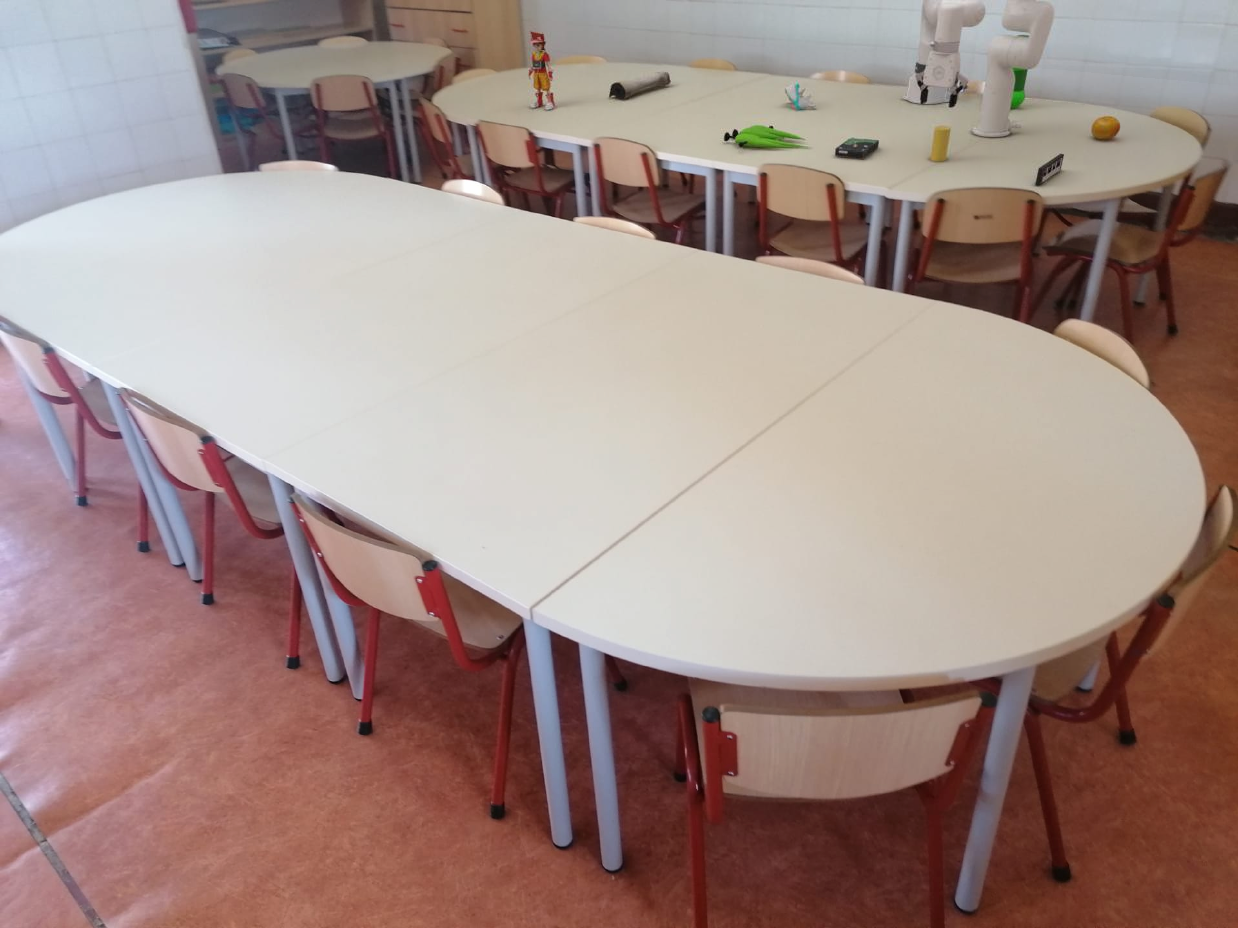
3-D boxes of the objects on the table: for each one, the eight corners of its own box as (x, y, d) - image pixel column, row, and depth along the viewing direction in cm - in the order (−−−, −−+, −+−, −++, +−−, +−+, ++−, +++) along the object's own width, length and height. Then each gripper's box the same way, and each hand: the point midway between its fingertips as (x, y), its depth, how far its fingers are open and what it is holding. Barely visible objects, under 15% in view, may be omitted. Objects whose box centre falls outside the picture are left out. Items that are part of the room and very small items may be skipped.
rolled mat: (651, 76, 408) (662, 61, 399) (662, 93, 408) (674, 79, 400) (605, 92, 391) (616, 77, 383) (617, 110, 391) (628, 95, 383)
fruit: (1087, 130, 301) (1105, 108, 298) (1084, 133, 309) (1101, 112, 306) (1109, 144, 300) (1127, 122, 297) (1105, 147, 308) (1122, 126, 305)
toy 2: (713, 146, 317) (792, 161, 304) (715, 131, 314) (794, 145, 301) (747, 132, 337) (821, 146, 325) (748, 118, 334) (824, 131, 322)
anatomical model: (780, 80, 363) (804, 74, 363) (784, 106, 369) (807, 100, 369) (789, 89, 351) (814, 82, 350) (792, 115, 357) (817, 109, 356)
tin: (929, 161, 295) (934, 129, 289) (930, 157, 298) (935, 125, 293) (945, 162, 293) (950, 130, 287) (946, 157, 297) (951, 126, 291)
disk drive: (864, 160, 299) (878, 148, 309) (864, 151, 297) (879, 139, 307) (834, 157, 304) (849, 145, 314) (835, 148, 302) (850, 136, 312)
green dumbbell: (1029, 106, 343) (1043, 35, 329) (1012, 111, 338) (1026, 39, 324) (1007, 102, 350) (1020, 32, 336) (989, 107, 345) (1002, 36, 331)
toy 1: (525, 109, 381) (517, 32, 364) (534, 104, 388) (527, 28, 371) (550, 110, 377) (543, 32, 360) (559, 105, 384) (553, 28, 367)
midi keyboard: (1039, 185, 269) (1043, 168, 266) (1035, 184, 270) (1038, 168, 267) (1060, 170, 279) (1064, 154, 277) (1056, 169, 280) (1060, 153, 277)
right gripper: (914, 47, 282) (907, 104, 291) (967, 52, 272) (957, 111, 281) (926, 43, 286) (918, 99, 296) (978, 48, 276) (968, 106, 286)
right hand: (937, 105), depth 289 cm, fingers open, 9 cm apart
